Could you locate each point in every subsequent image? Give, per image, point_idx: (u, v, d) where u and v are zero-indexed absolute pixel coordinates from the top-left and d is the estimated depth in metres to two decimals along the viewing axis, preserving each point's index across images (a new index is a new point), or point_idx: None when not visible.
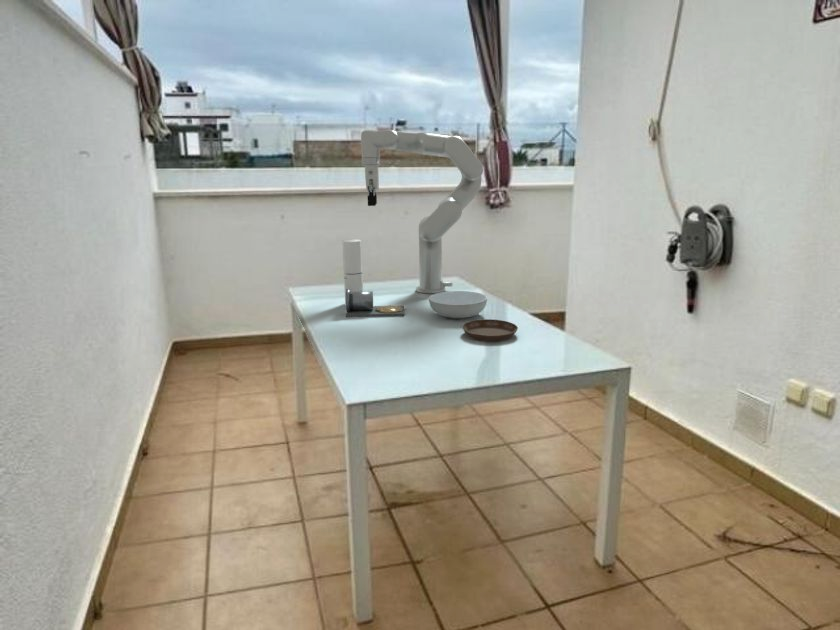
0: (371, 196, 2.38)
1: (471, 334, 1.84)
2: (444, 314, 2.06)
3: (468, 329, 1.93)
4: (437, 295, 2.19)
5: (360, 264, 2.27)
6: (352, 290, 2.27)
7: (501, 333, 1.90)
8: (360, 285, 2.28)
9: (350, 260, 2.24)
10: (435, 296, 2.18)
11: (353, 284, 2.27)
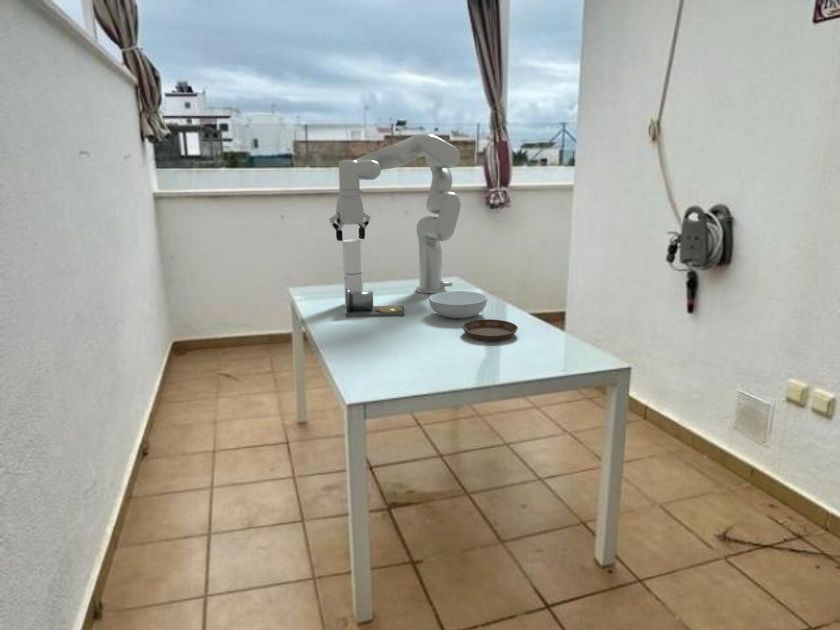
0: None
1: (471, 334, 1.84)
2: (444, 314, 2.06)
3: (468, 329, 1.93)
4: (437, 295, 2.19)
5: (360, 264, 2.27)
6: (352, 290, 2.27)
7: (501, 333, 1.90)
8: (360, 285, 2.28)
9: (350, 260, 2.24)
10: (435, 296, 2.18)
11: (353, 284, 2.27)
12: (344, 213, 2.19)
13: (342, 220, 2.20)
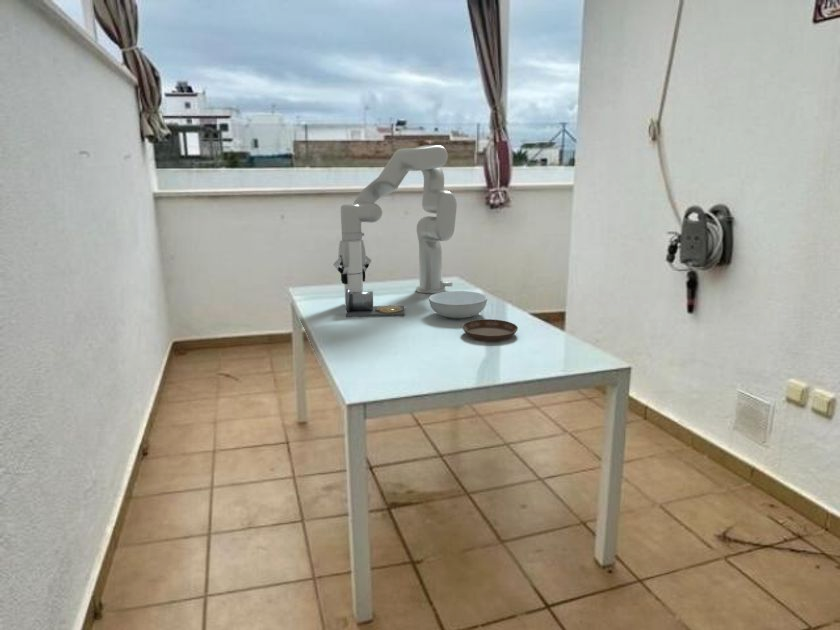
0: None
1: (471, 334, 1.84)
2: (444, 314, 2.06)
3: (468, 329, 1.93)
4: (437, 295, 2.19)
5: (360, 264, 2.27)
6: (352, 290, 2.27)
7: (501, 333, 1.90)
8: (360, 285, 2.28)
9: (350, 260, 2.24)
10: (435, 296, 2.18)
11: (353, 284, 2.27)
12: (346, 256, 2.23)
13: (345, 263, 2.24)
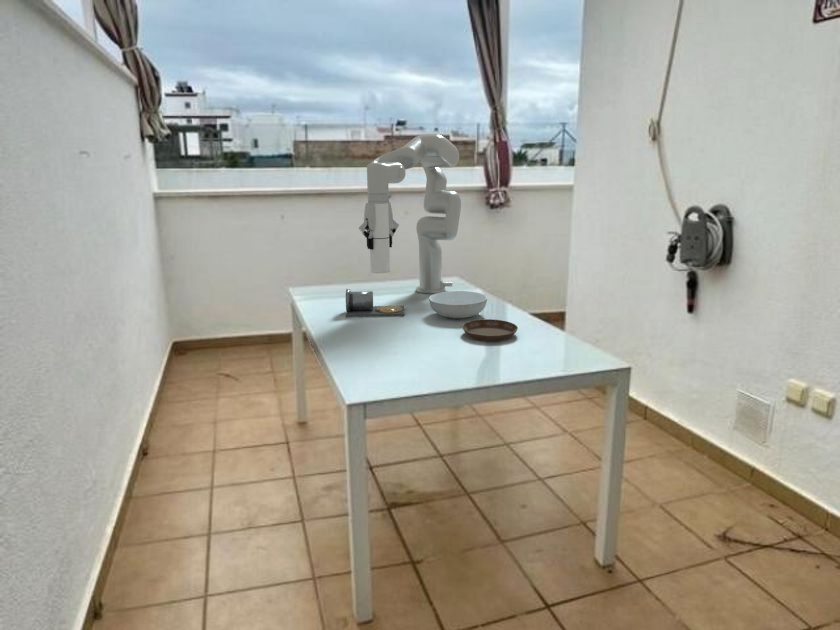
0: None
1: (471, 334, 1.84)
2: (444, 314, 2.06)
3: (468, 329, 1.93)
4: (437, 295, 2.19)
5: (387, 228, 2.12)
6: (378, 256, 2.13)
7: (501, 333, 1.90)
8: (387, 251, 2.14)
9: (376, 224, 2.10)
10: (435, 296, 2.18)
11: (379, 250, 2.13)
12: (373, 219, 2.09)
13: (371, 226, 2.10)
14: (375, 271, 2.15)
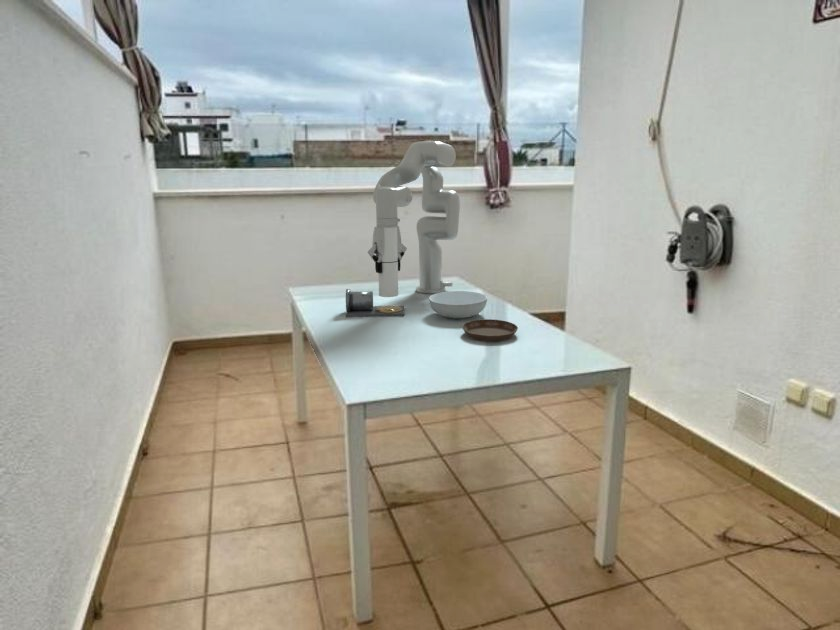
0: None
1: (471, 334, 1.84)
2: (444, 314, 2.06)
3: (468, 329, 1.93)
4: (437, 295, 2.19)
5: (396, 252, 2.12)
6: (387, 280, 2.12)
7: (501, 333, 1.90)
8: (395, 274, 2.13)
9: (385, 248, 2.09)
10: (435, 296, 2.18)
11: (388, 274, 2.12)
12: (382, 243, 2.09)
13: (380, 250, 2.09)
14: (384, 295, 2.14)
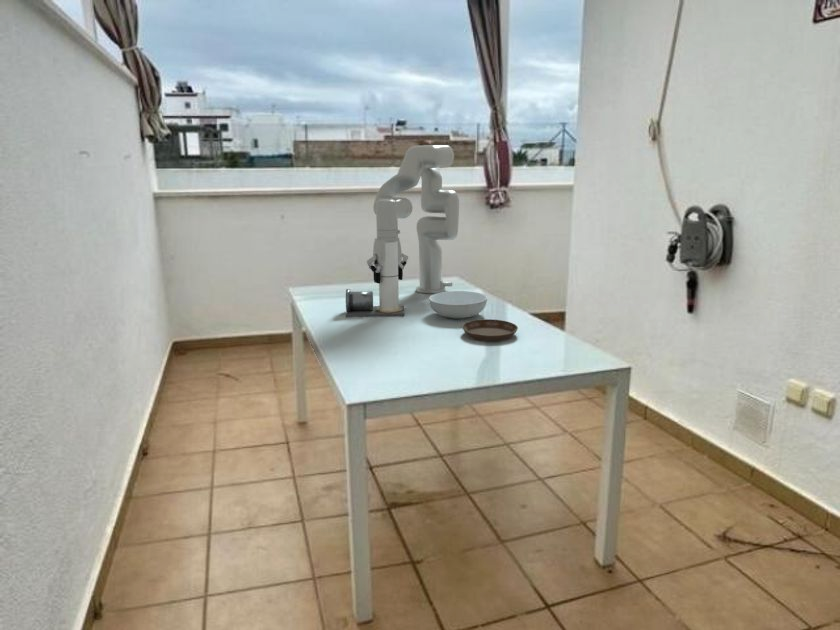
0: None
1: (471, 334, 1.84)
2: (444, 314, 2.06)
3: (468, 329, 1.93)
4: (437, 295, 2.19)
5: (396, 266, 2.13)
6: (388, 294, 2.14)
7: (501, 333, 1.90)
8: (396, 288, 2.15)
9: (386, 262, 2.11)
10: (435, 296, 2.18)
11: (389, 288, 2.13)
12: (382, 255, 2.10)
13: (380, 262, 2.10)
14: (384, 309, 2.16)
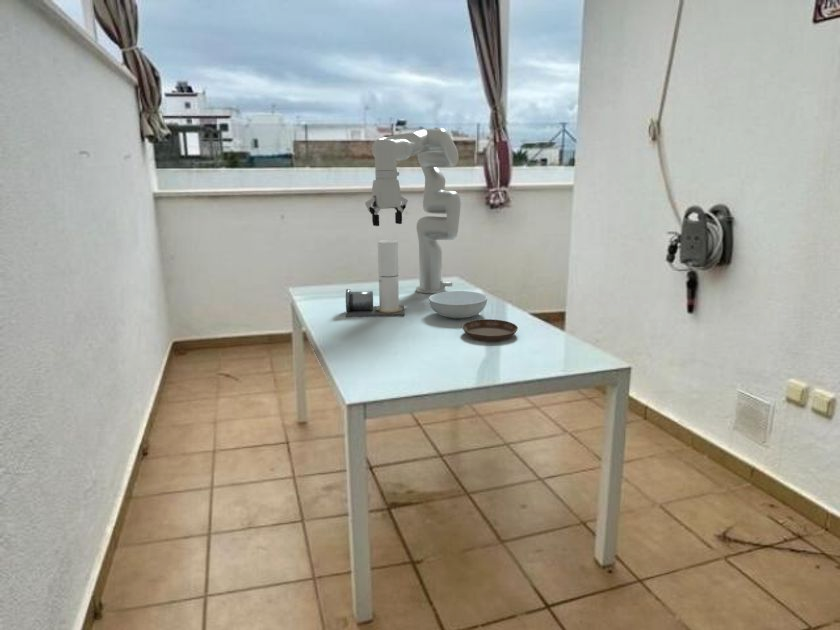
0: None
1: (471, 334, 1.84)
2: (444, 314, 2.06)
3: (468, 329, 1.93)
4: (437, 295, 2.19)
5: (396, 266, 2.13)
6: (388, 294, 2.14)
7: (501, 333, 1.90)
8: (396, 288, 2.15)
9: (386, 262, 2.11)
10: (435, 296, 2.18)
11: (389, 288, 2.13)
12: (381, 196, 2.05)
13: (379, 204, 2.05)
14: (384, 309, 2.16)
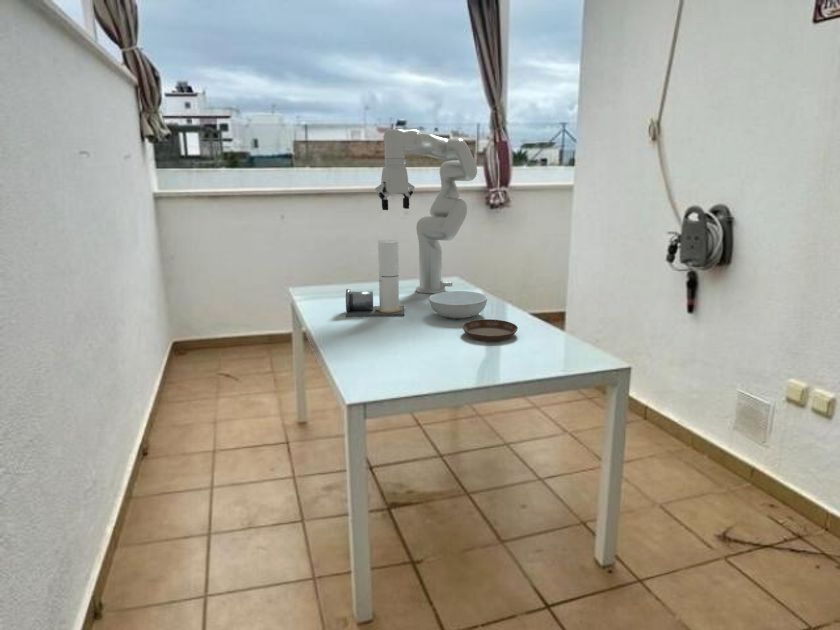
0: None
1: (471, 334, 1.84)
2: (444, 314, 2.06)
3: (468, 329, 1.93)
4: (437, 295, 2.19)
5: (397, 266, 2.13)
6: (388, 294, 2.14)
7: (501, 333, 1.90)
8: (396, 288, 2.15)
9: (386, 262, 2.11)
10: (435, 296, 2.18)
11: (389, 288, 2.13)
12: (390, 182, 2.21)
13: (388, 189, 2.21)
14: (384, 309, 2.16)
